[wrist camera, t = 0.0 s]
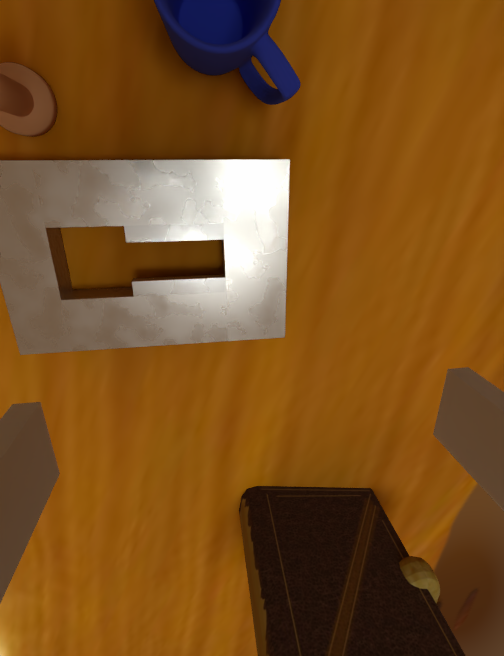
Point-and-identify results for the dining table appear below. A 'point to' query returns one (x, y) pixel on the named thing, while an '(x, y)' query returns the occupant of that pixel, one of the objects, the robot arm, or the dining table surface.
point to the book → (336, 577)
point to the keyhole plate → (144, 226)
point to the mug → (230, 41)
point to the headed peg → (25, 101)
